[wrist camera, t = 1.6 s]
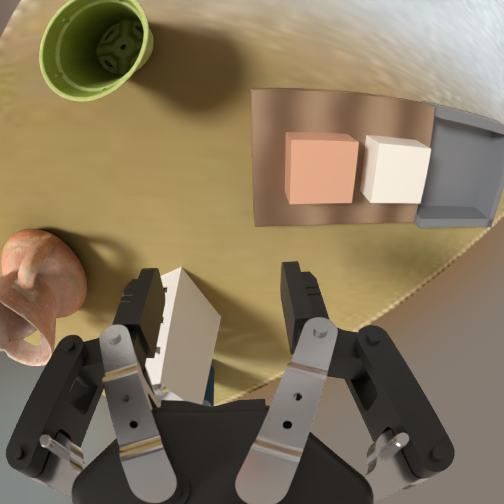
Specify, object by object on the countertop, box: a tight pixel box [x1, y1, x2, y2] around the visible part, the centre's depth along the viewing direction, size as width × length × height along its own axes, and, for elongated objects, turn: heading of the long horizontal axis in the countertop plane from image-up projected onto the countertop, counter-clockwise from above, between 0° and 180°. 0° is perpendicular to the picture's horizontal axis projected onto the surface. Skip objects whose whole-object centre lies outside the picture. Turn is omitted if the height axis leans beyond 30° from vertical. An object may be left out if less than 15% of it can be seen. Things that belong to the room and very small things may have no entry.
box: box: [414, 101, 504, 228], centre depth 29 cm, size 14×14×4 cm
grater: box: [122, 267, 221, 406], centre depth 34 cm, size 10×10×20 cm
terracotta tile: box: [285, 132, 359, 204], centre depth 27 cm, size 6×6×3 cm
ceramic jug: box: [0, 229, 87, 366], centre depth 31 cm, size 18×14×14 cm
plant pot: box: [39, 0, 154, 101], centre depth 19 cm, size 9×9×9 cm
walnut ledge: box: [250, 88, 435, 227], centre depth 29 cm, size 19×14×3 cm
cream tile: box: [360, 135, 431, 203], centre depth 27 cm, size 6×6×3 cm
